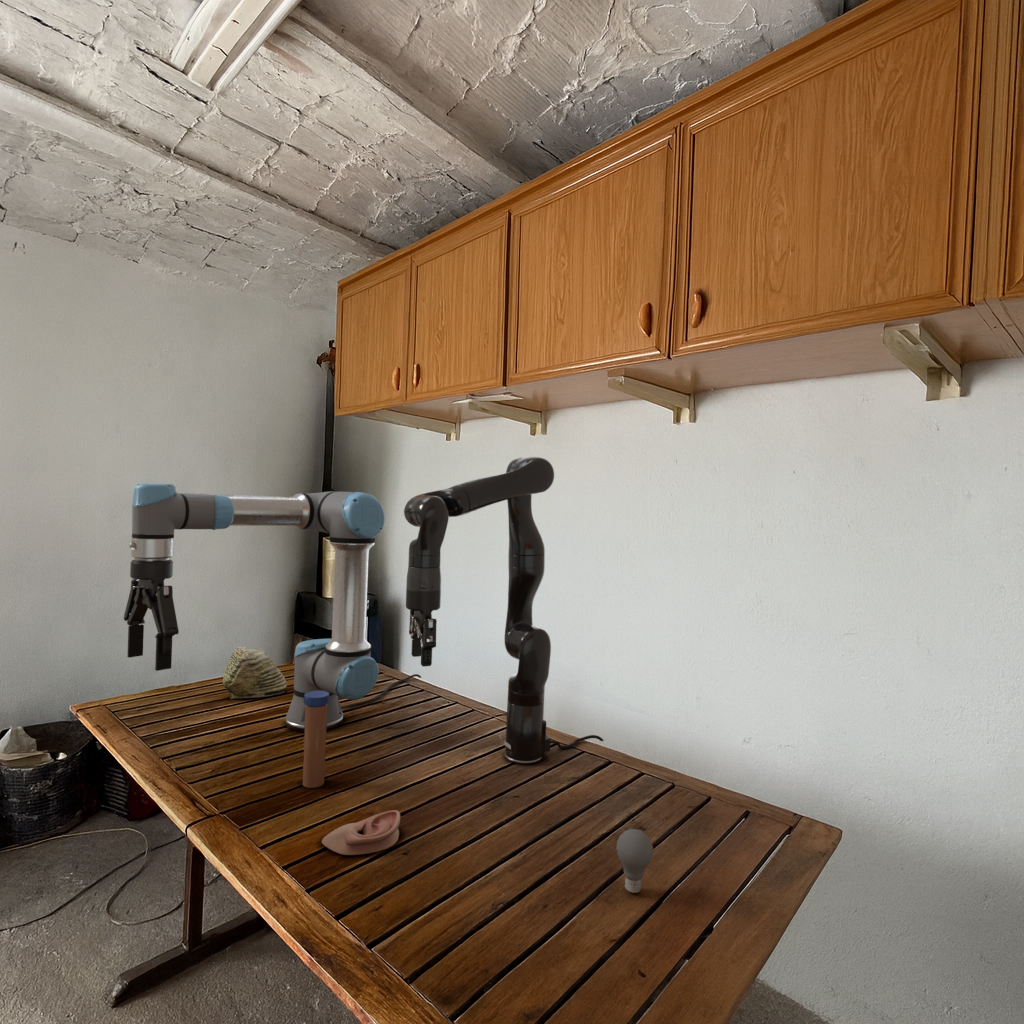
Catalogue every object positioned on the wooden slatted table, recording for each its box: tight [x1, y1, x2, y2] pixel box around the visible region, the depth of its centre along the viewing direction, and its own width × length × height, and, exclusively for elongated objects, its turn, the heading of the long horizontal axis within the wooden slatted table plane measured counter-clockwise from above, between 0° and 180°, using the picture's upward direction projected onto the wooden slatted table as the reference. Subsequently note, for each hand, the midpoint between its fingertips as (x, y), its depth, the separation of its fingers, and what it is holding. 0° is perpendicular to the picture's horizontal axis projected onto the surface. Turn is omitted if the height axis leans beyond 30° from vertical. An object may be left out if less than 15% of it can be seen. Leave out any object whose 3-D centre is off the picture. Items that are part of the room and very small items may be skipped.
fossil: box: [222, 646, 288, 699], centre depth 198 cm, size 9×18×15 cm, turn 132°
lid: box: [304, 691, 330, 707], centre depth 139 cm, size 5×5×2 cm
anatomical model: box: [321, 809, 401, 856], centre depth 118 cm, size 13×4×12 cm
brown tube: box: [302, 705, 327, 789], centre depth 140 cm, size 5×5×19 cm
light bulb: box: [615, 828, 654, 894], centre depth 106 cm, size 6×6×10 cm
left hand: (148, 662), depth 129 cm, fingers open, 13 cm apart
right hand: (421, 660), depth 138 cm, fingers open, 8 cm apart
